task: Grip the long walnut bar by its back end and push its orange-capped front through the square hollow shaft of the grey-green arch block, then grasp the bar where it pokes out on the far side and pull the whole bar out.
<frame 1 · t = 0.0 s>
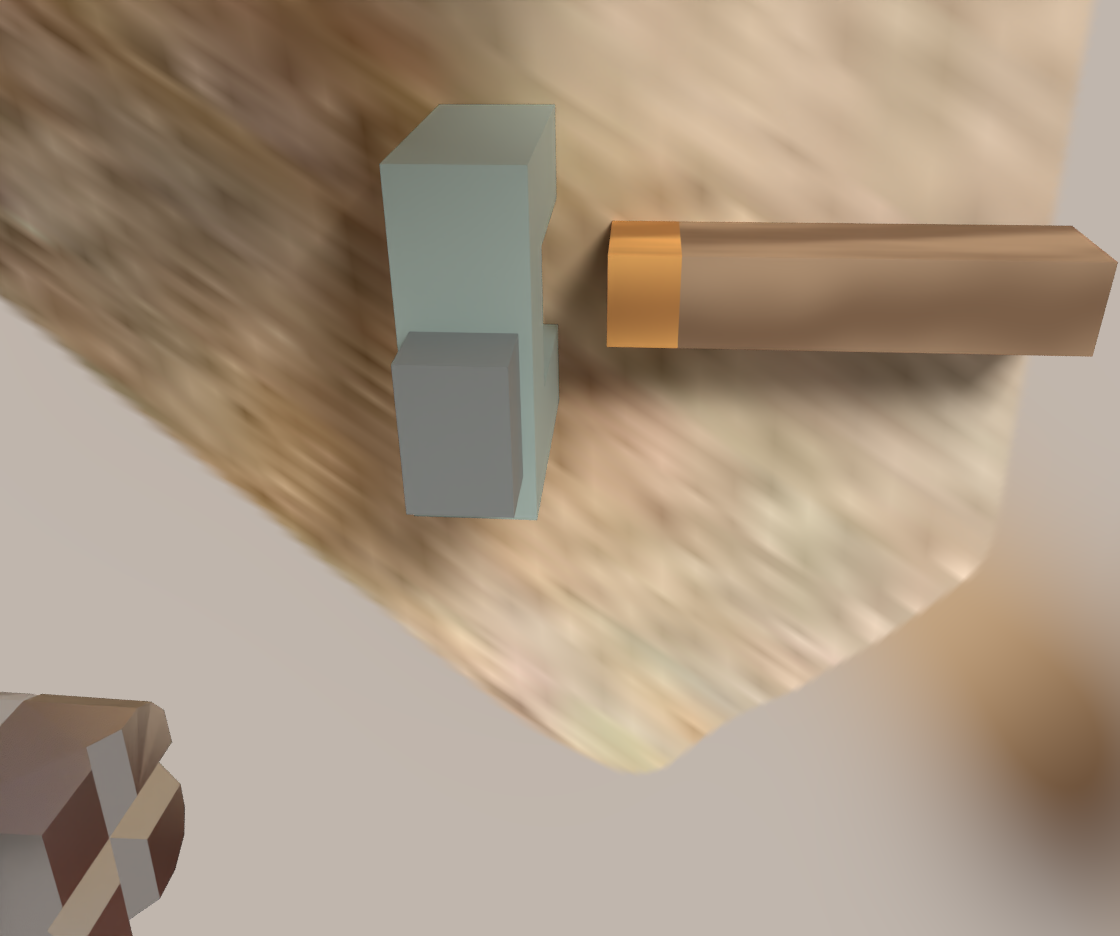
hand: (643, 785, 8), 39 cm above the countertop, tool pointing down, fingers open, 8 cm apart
grey-green arch block: (503, 262, 47), on the countertop
bar: (832, 267, 45), on the countertop
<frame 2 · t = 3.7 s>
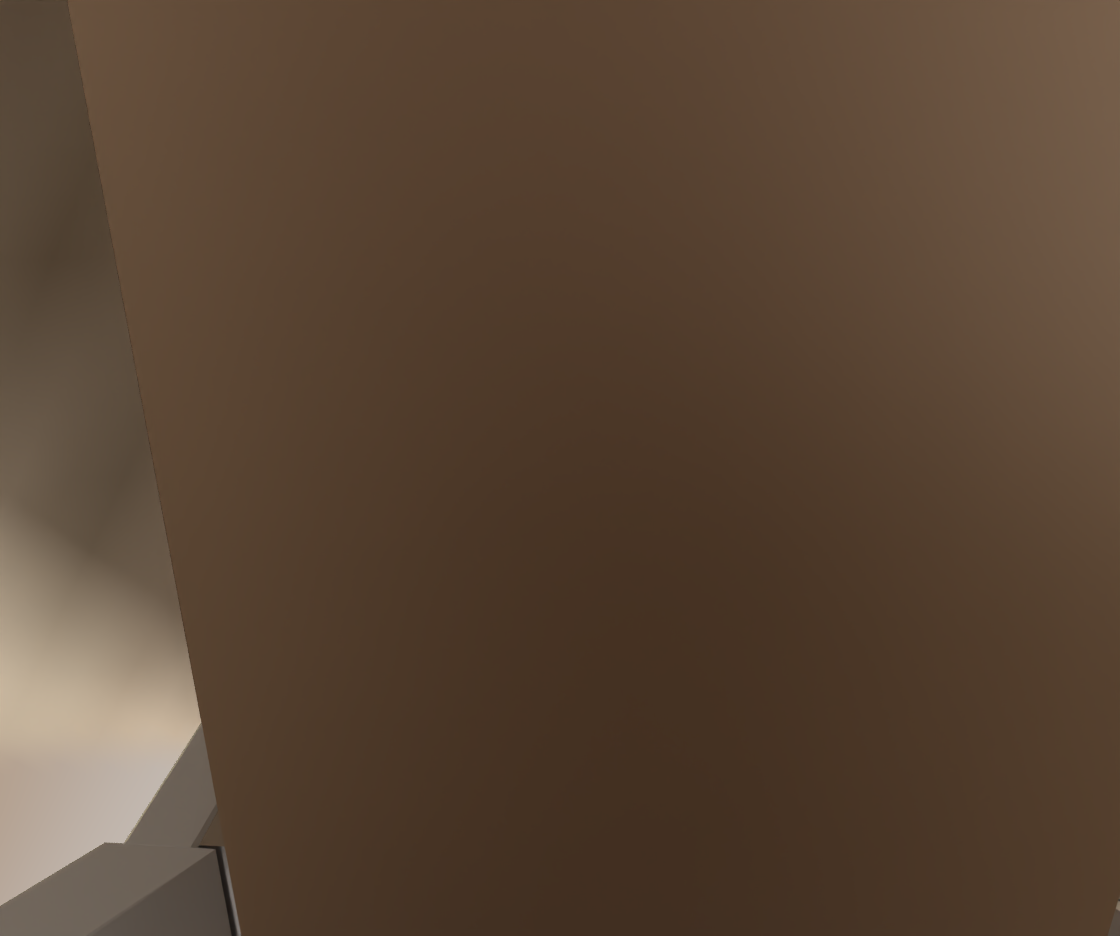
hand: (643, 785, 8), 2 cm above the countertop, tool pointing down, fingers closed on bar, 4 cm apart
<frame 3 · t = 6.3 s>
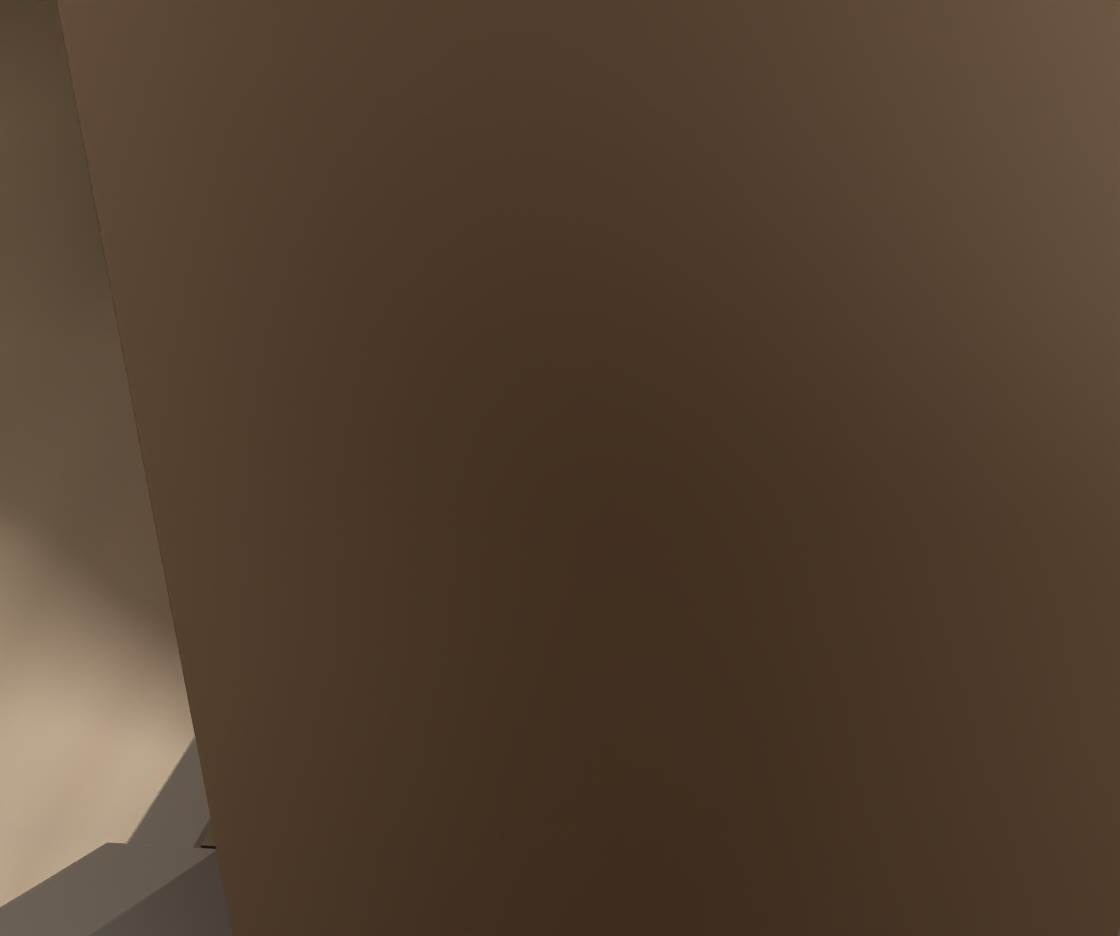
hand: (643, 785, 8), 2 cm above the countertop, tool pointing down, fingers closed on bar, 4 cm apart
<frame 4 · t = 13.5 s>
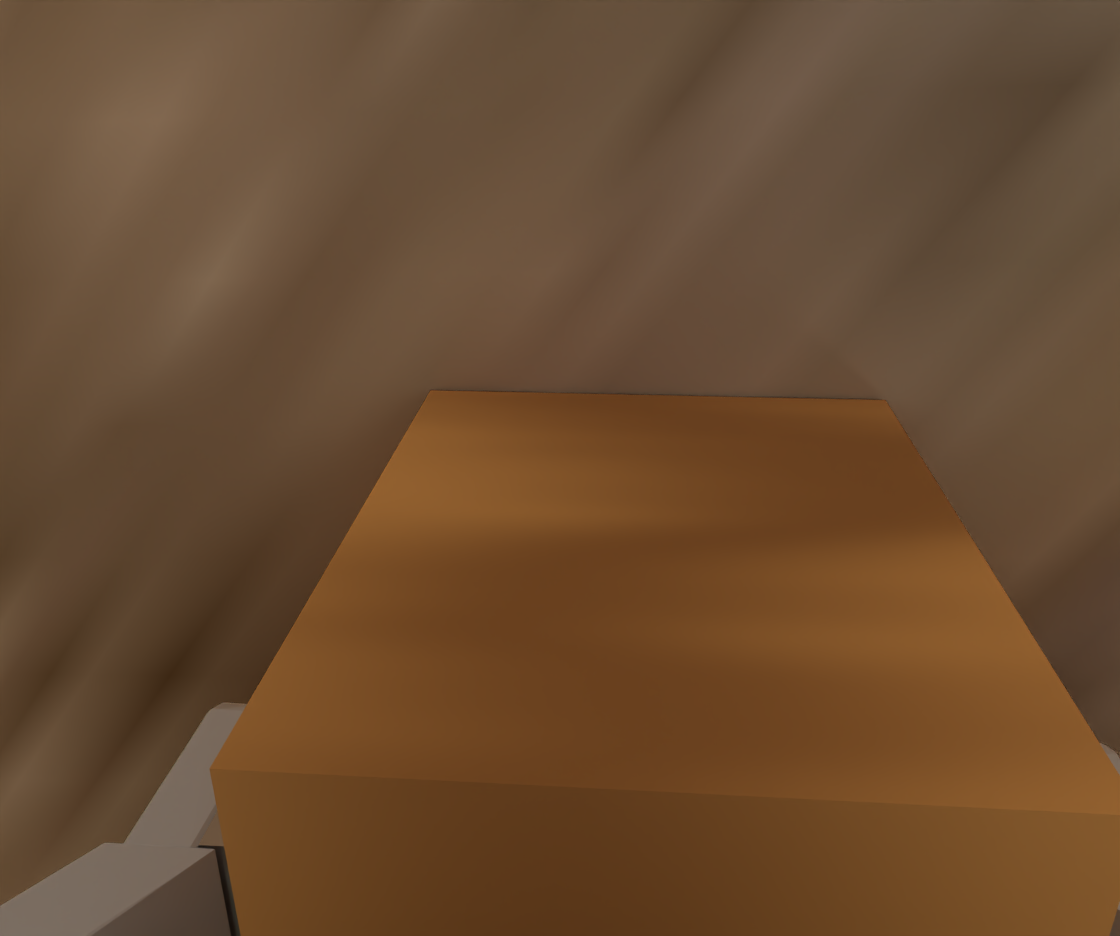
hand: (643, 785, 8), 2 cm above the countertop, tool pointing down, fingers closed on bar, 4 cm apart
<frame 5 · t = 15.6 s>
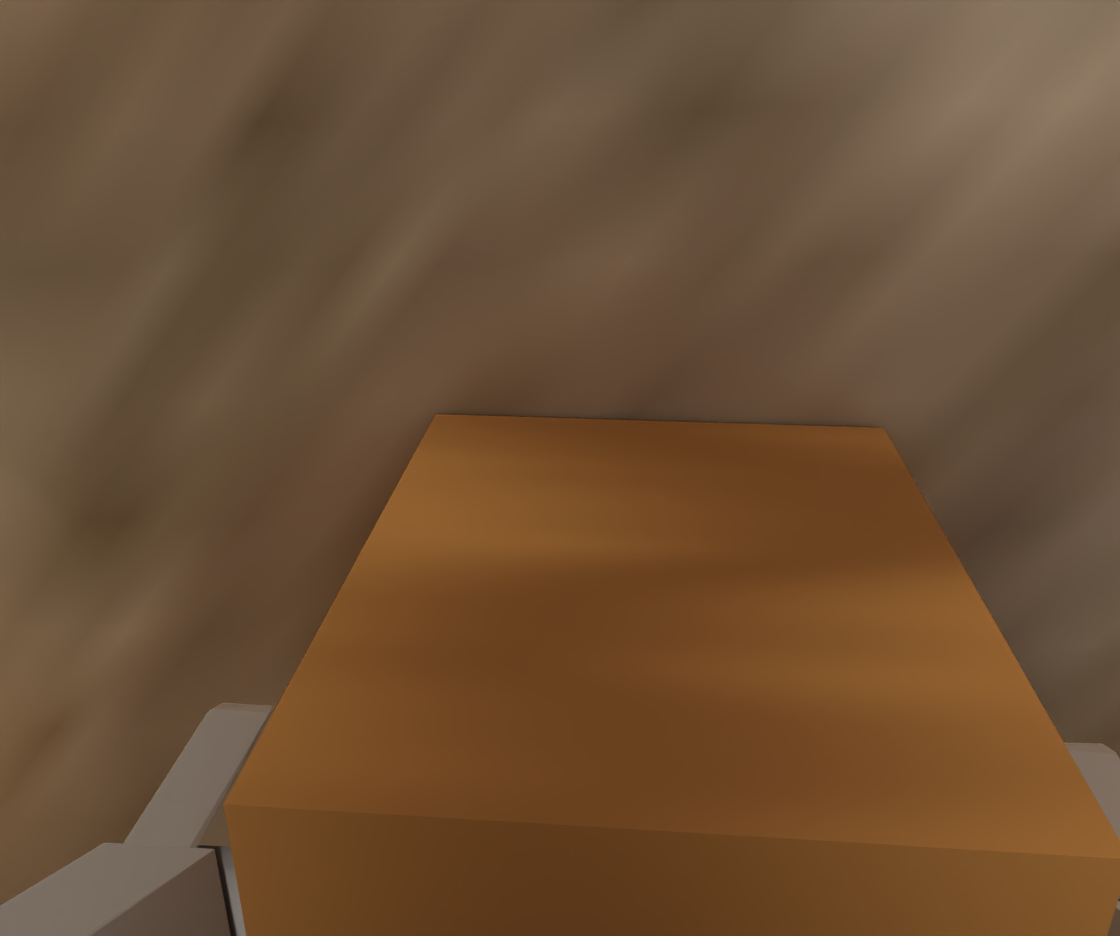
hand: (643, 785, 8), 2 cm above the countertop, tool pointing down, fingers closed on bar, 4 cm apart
when the fingers open (2 cm above the countertop, at t = 17.5 s): bar stays where it is, on the countertop.
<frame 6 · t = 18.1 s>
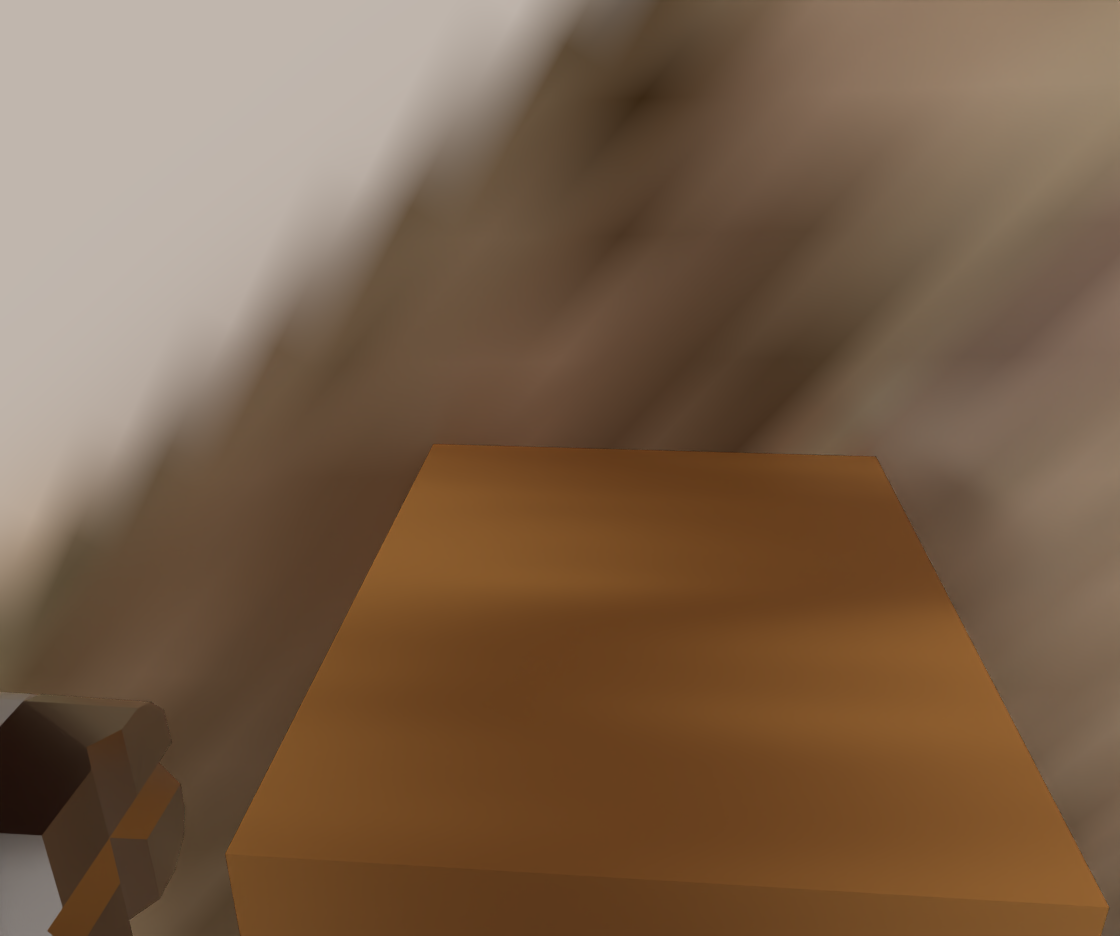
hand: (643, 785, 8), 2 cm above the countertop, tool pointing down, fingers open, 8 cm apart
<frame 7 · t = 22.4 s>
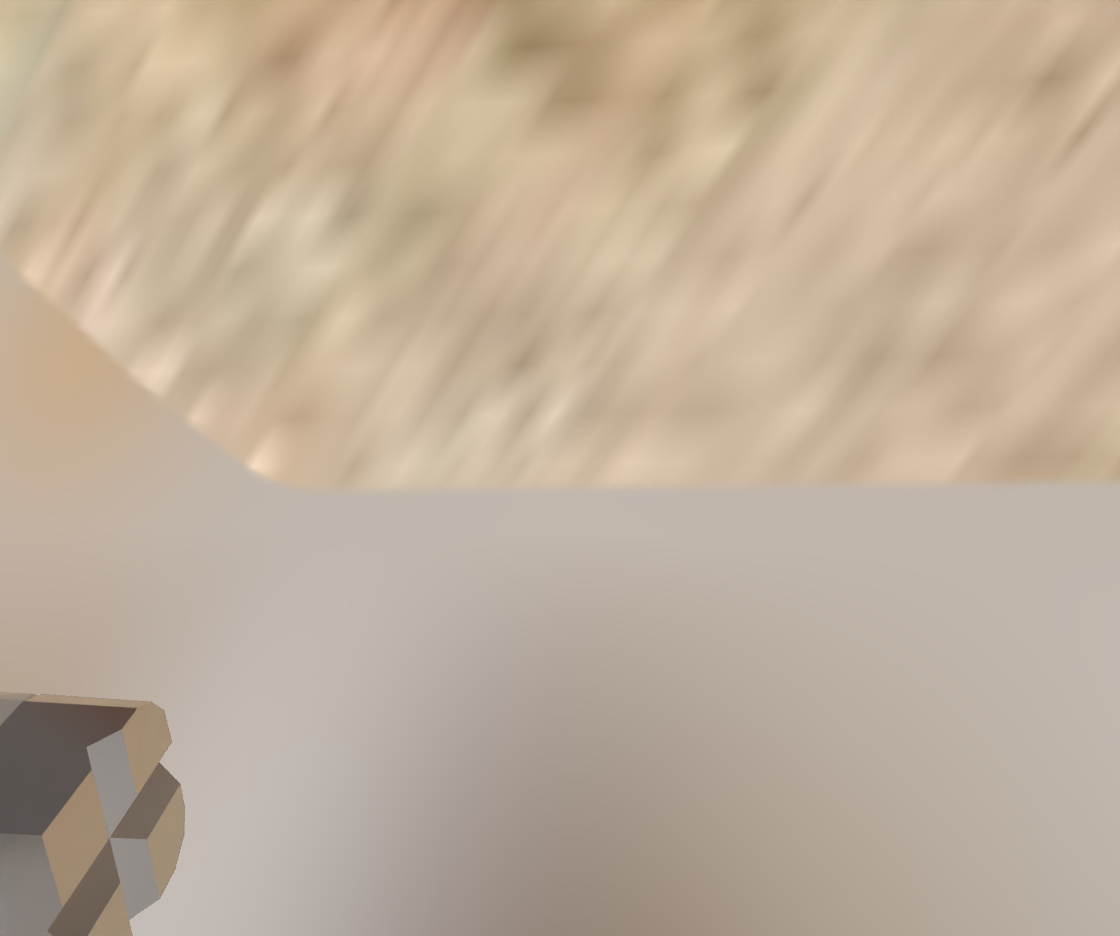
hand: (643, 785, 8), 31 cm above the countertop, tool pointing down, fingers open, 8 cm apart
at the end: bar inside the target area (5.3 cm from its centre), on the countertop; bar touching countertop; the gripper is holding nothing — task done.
